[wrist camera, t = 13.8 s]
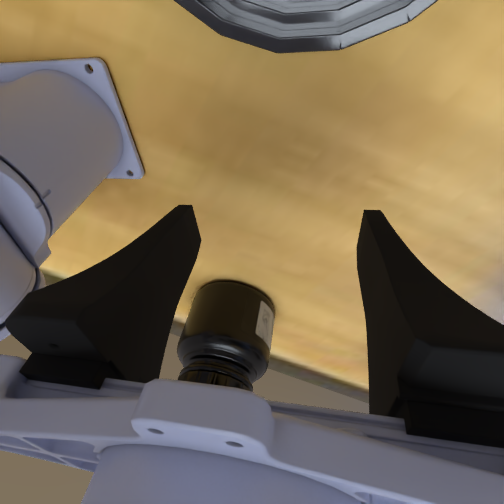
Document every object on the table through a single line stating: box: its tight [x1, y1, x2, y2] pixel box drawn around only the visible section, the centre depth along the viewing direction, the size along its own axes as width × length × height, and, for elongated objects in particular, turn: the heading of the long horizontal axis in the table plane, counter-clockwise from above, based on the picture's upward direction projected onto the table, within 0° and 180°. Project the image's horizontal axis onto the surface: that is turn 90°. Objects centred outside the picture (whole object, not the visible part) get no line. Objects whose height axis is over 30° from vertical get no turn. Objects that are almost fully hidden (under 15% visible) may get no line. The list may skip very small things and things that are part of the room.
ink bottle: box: [177, 282, 275, 391], centre depth 30 cm, size 10×9×12 cm
